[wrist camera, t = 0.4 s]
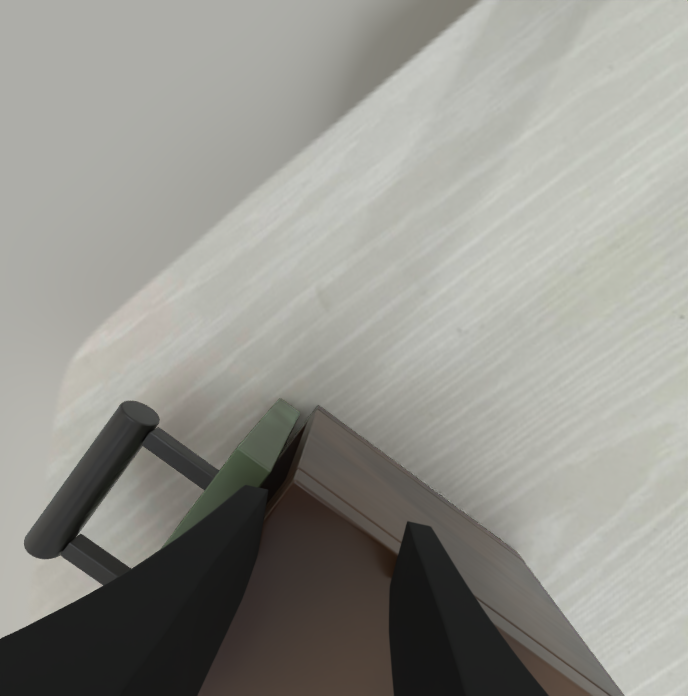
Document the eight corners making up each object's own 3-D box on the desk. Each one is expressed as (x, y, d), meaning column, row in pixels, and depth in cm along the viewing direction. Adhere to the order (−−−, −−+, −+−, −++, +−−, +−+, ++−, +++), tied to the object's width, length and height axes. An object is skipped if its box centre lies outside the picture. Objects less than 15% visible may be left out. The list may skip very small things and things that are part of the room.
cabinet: (182, 583, 19) (45, 804, 10) (318, 404, 18) (294, 479, 9) (378, 721, 19) (405, 1043, 11) (517, 552, 19) (666, 750, 10)
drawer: (81, 516, 18) (-85, 638, 11) (207, 343, 17) (114, 357, 10) (342, 700, 18) (341, 926, 11) (473, 540, 18) (553, 676, 11)
